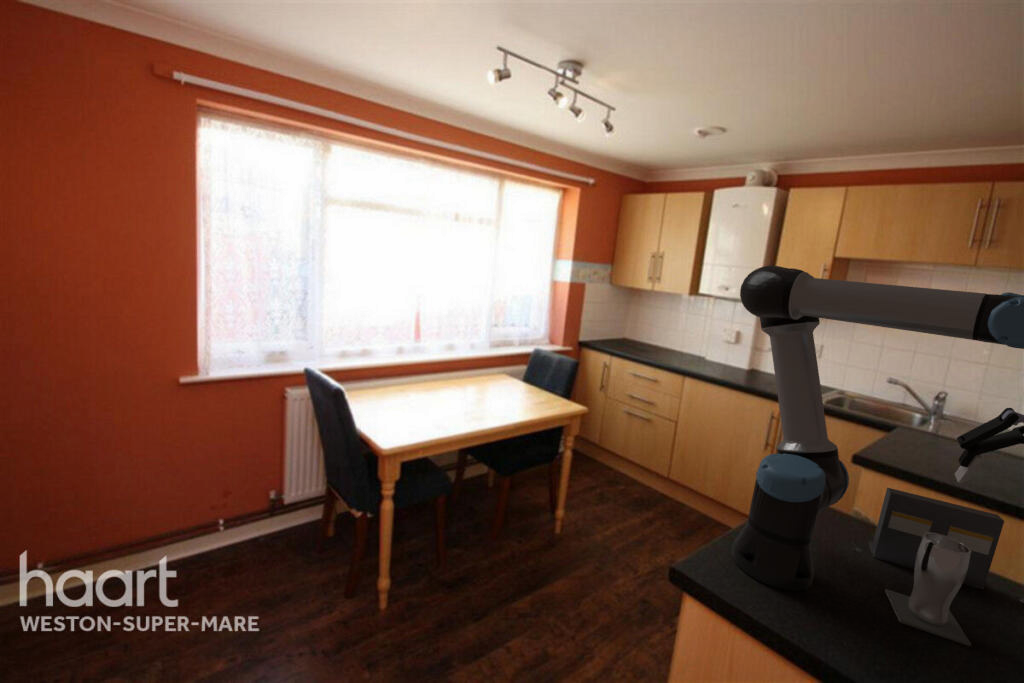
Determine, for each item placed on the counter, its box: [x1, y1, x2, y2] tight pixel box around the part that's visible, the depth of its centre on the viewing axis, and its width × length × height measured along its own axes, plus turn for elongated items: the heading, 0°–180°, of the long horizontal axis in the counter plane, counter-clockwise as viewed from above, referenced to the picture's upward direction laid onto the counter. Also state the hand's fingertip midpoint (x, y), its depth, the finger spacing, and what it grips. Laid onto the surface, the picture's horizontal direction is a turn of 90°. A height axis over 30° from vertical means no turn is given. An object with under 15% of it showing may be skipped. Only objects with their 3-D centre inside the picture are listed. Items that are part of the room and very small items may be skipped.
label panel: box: [868, 487, 1005, 590], centre depth 104 cm, size 19×6×16 cm, turn 64°
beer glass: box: [906, 532, 971, 627], centre depth 87 cm, size 7×7×15 cm
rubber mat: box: [884, 588, 972, 647], centre depth 88 cm, size 10×10×1 cm
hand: (1004, 494), depth 86 cm, fingers open, 13 cm apart
